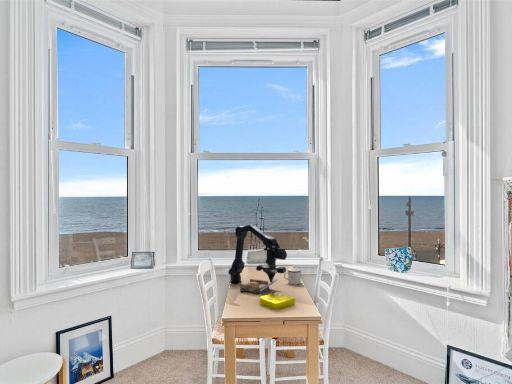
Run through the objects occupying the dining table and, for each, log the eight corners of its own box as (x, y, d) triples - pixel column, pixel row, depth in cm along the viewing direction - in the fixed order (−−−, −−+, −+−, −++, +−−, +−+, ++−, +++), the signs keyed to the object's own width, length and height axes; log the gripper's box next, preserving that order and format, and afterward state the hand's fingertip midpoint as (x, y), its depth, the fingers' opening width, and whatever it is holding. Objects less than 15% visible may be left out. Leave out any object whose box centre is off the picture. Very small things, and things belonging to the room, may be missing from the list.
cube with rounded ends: (247, 287, 203) (247, 282, 203) (250, 286, 206) (250, 281, 206) (258, 288, 200) (257, 283, 200) (260, 287, 203) (260, 282, 203)
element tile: (258, 304, 180) (258, 296, 180) (277, 298, 190) (277, 290, 190) (276, 312, 169) (276, 302, 169) (296, 305, 179) (296, 296, 179)
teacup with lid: (299, 280, 227) (299, 264, 227) (302, 284, 218) (302, 267, 218) (282, 281, 226) (282, 264, 226) (284, 285, 217) (284, 267, 217)
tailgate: (259, 290, 198) (268, 284, 195) (268, 284, 210) (277, 278, 207) (260, 291, 197) (269, 285, 195) (269, 286, 210) (278, 280, 207)
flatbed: (239, 291, 203) (239, 284, 203) (251, 285, 217) (251, 278, 217) (259, 294, 196) (259, 287, 196) (270, 287, 211) (270, 280, 211)
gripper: (252, 259, 203) (252, 283, 203) (279, 261, 194) (279, 287, 194) (260, 255, 212) (260, 279, 212) (286, 258, 204) (286, 282, 204)
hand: (271, 282), depth 205 cm, fingers closed
